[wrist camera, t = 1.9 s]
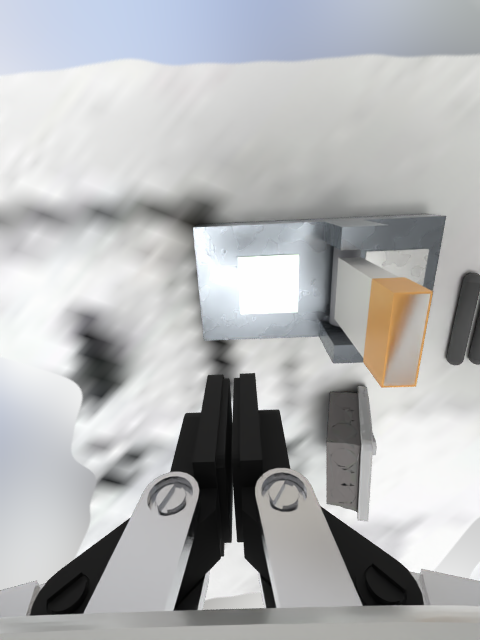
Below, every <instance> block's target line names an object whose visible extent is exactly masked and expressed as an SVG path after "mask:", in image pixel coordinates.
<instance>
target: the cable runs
mask: <svg viewBox="0 0 480 640" xmlns="http://www.w3.org/2000/svg"><path fill="white" fill-rule="evenodd" d="M479 291H480V275H479V274H476V273H470V274H468V275H466V276H465V277H464V279H463V283H462V288H461V293H460V297H459V302H458V307H457V311H456V316H455V321H454V326H453V330H452V335H451V340H450V344H449V349H448V354H447V361H448V362H449V363H450V364H452V365H459V364H461V363H462V362H463V360H464V355H465V351H466V347H467V343H468V338H469V334H470V330H471V326H472V321H473V317H474V313H475V308H476V304H477V300H478V296H479ZM469 360H470V361H471V362H472V363H474V364H480V312H479V316H478V320H477V324H476V328H475V333H474V337H473V341H472V345H471V349H470V353H469Z"/></svg>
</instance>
